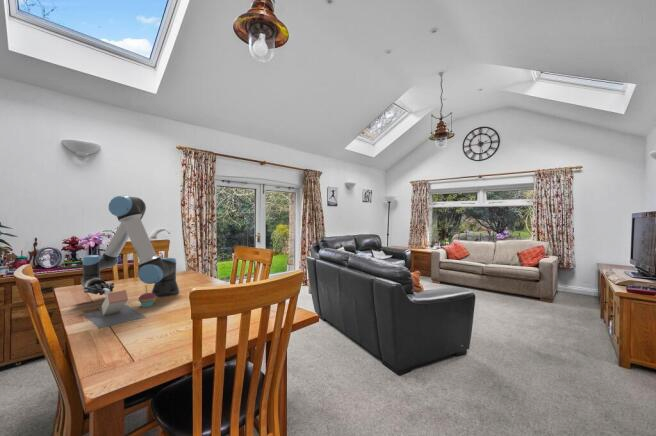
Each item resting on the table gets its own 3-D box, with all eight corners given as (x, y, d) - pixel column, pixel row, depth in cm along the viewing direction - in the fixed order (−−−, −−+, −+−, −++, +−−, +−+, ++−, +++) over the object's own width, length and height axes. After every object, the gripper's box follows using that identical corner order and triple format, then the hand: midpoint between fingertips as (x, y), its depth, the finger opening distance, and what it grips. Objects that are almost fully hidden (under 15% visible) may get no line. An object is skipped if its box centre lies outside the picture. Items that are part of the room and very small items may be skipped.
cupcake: (135, 307, 147) (135, 285, 147) (151, 302, 155) (151, 281, 155) (143, 309, 143) (144, 287, 143) (160, 305, 151) (160, 283, 151)
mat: (83, 314, 135) (83, 313, 135) (126, 305, 150) (126, 304, 150) (98, 329, 118) (98, 328, 118) (145, 317, 133) (145, 316, 133)
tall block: (101, 306, 135) (108, 293, 128) (118, 302, 141) (125, 290, 134) (103, 315, 133) (110, 302, 127) (120, 311, 139) (127, 299, 132)
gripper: (110, 289, 155) (123, 297, 140) (80, 294, 144) (91, 303, 130) (110, 276, 155) (124, 283, 140) (80, 280, 144) (91, 288, 130)
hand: (108, 293), depth 135 cm, fingers closed
